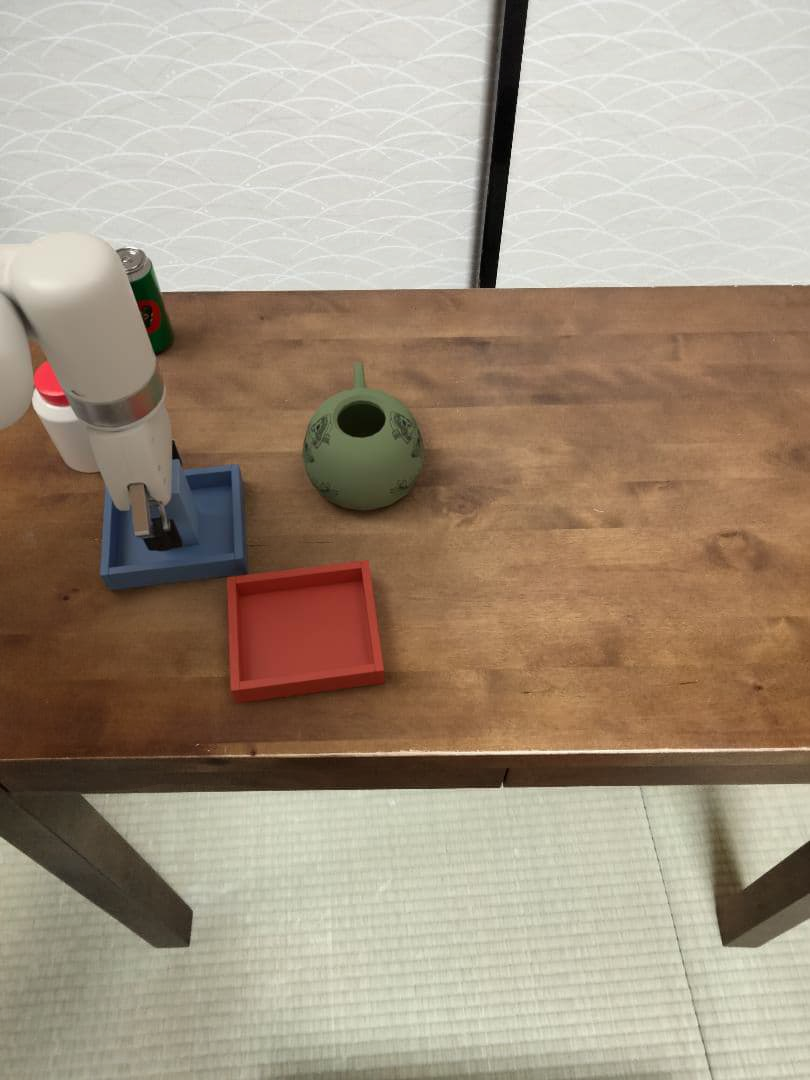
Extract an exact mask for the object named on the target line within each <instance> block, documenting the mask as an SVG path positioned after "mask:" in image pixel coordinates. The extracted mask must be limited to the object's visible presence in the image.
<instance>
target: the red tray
mask: <svg viewBox="0 0 810 1080" xmlns="http://www.w3.org/2000/svg"><path fill="white" fill-rule="evenodd" d="M226 589H227V591H226V592H227V618H228V619H227V620H228V621H227V622H228V643H229V644H228V648H229V677H230V681H229V682H230V692H231V694H232V696H233V698H234V700H235V703H236V704H240V703H248V702H256V701H262V700H270V699H277V698H284V697H291V696H300V695H307V694H315V693H321V692H329V691H336V690H343V689H350V688H351V689H352V688H359V687H365V686H372V685H373V686H374V685H379V684H385V683H386V682H385V680H386V679H385V666H384V659H383V652H382V646H381V645H382V644H381V639H380V638H381V637H380V630H379V624H378V617H377V610H376V603H375V597H374V588H373V582H372V575H371V567H370V560H369V559H365V560H357V561H349V562H341V563H332V564H324V565H316V566H309V567H300V568H292V569H283V570H275V571H267V572H260V573H252V574H242V575H233V576H226Z"/></svg>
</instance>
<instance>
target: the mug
mask: <svg viewBox="0 0 810 1080" xmlns="http://www.w3.org/2000/svg"><path fill="white" fill-rule="evenodd" d="M425 450H426V447H425V444H424V440H423V436H422V433H421V431H420V428H419V425H418V423H417V420H416V418H415V416H414V415H413V413H412V412H411V410H409V409H408V408H407V407H406V406H405V405H404V403H402V402H401V400H400V399H398V398H397V397H396V396H395V395H392V394H390V393H388V392H386V391H383V390H381V389H377V388H368V387H367V384H366V377H365V367H364V363H363V362H360V361H357V362H355V363H354V365H353V388H351V389H350V388H349V389H346V390H342V391H339V392H338V393H336V394H334V395H332V396H330V397H329V398H327V399H325V400H324V401H323V403H322V404H321V405H320V406H319V407H318V409H317V410H316V411H315V412H314V414H313V415H312V416H311V417H310V419H309V422H308V424H307V427H306V431H305V436H304V440H303V445H302V454H301V456H302V460H303V464H304V468H305V472H306V475H307V477H308V479H309V482H310V483H311V485H312V486H313V487H314V488H315V490H316V491H318V493H319V494H320V495H321V496H322V497H323V499H325V500H327V501H329V502H331V503H333V504H335V505H336V506H339V507H341V508H343V509H351V510H360V511H371V510H375V509H379V508H384V507H388V506H391V505H393V504H394V503H396V502H397V501H398V500H401V499H402V498H403V497H405V496H406V495H408V494H409V493H410V491H411V490H412V488H413V487H414V485H415V484H416V482H417V481H418V480H419V478H420V475H421V471H422V469H423V464H424V456H425Z"/></svg>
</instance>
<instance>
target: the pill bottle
mask: <svg viewBox="0 0 810 1080" xmlns="http://www.w3.org/2000/svg"><path fill="white" fill-rule="evenodd" d="M33 377H34V392H33V397H32V401H31V403H32V407H33V410H34V412H35V414H36V415H37V417H38V418H39V420H40V422H41V424H42V426H43V428H44V429H45V431H46V433H47V435H48V436H49V438H50V439H51V441H52V443H53V445H54V447H55V448H56V450H57V452H58V453H59V455H60V457H61V459H62V460H63V462H64V463H65V465H67V466H68V467H69V468H71V469H72V470H74V471H77V472H81V473H85V474H87V473H88V474H89V473H90V474H91V473H100V470H99V467H98V465H97V462H96V459H95V456H94V454H93V450H92V447H91V444H90V440H89V436H88V431H87V426H86V425H85V424H83V423H82V422H81V421H80V420H79V419H78V418H77V417H76V415H75V414H74V412H73V410H72V407H71V406H70V404H69V402H68V400H67V398H66V396H65V394H64V392H63V390H62V388H61V386H60V384H59V382H58V380H57V378H56V376H55V374H54V372H53V370H52V368H51V366H50V364H49V362H48V360H46V361H44V362H42V364H41V365H39V366H38V368H37V369H36V370H35V372H34V373H33Z"/></svg>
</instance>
